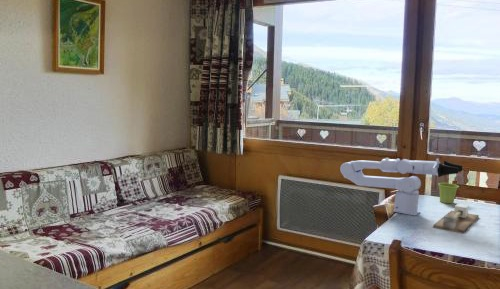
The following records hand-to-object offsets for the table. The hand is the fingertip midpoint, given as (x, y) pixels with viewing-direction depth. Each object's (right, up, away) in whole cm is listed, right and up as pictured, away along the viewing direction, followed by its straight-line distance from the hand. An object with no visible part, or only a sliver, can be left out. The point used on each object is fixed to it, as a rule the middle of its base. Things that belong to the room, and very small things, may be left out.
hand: (460, 169), depth 189 cm
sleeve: (+3, -20, +7) cm, 21 cm away
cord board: (-1, -22, +1) cm, 22 cm away
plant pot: (+10, -18, +36) cm, 42 cm away
